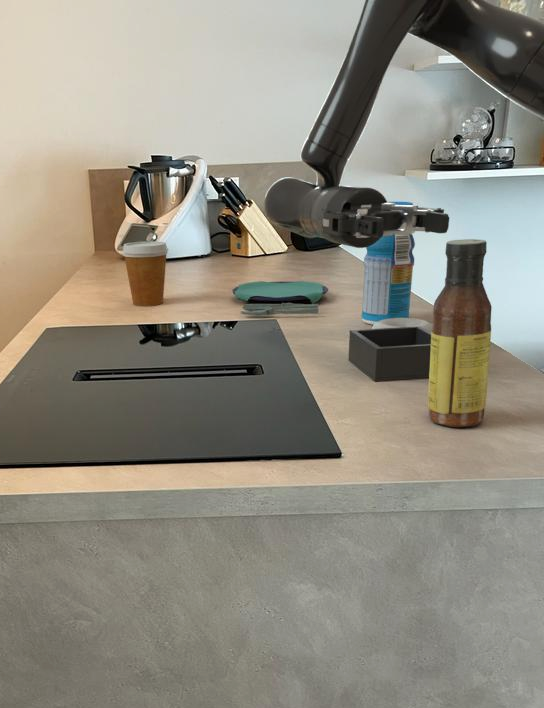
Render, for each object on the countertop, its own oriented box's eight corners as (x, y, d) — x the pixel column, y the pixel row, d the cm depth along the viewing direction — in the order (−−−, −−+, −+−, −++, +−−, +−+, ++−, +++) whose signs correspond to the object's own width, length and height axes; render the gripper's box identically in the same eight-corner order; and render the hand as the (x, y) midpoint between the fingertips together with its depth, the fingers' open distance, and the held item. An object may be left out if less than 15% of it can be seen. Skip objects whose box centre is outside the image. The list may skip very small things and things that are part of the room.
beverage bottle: (357, 325, 137) (364, 205, 129) (363, 316, 144) (370, 201, 137) (407, 327, 134) (417, 204, 127) (411, 317, 142) (420, 200, 134)
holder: (417, 356, 117) (419, 325, 115) (450, 376, 106) (453, 343, 105) (348, 360, 116) (349, 330, 114) (374, 381, 105) (376, 348, 104)
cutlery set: (327, 290, 171) (328, 279, 170) (328, 318, 144) (329, 305, 143) (236, 290, 174) (236, 280, 173) (221, 318, 147) (221, 306, 146)
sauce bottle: (488, 416, 91) (510, 237, 83) (476, 432, 86) (498, 245, 78) (431, 409, 94) (447, 236, 86) (416, 424, 89) (432, 243, 81)
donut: (371, 351, 121) (438, 350, 119) (372, 329, 120) (440, 328, 118) (368, 337, 130) (430, 335, 128) (368, 316, 129) (432, 314, 127)
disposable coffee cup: (152, 297, 170) (148, 240, 166) (180, 302, 164) (177, 242, 159) (116, 303, 165) (112, 244, 160) (143, 309, 158) (140, 247, 153)
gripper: (301, 188, 103) (361, 194, 88) (397, 184, 106) (470, 189, 92) (299, 247, 106) (357, 263, 91) (393, 241, 109) (463, 255, 95)
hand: (413, 226), depth 92 cm, fingers open, 8 cm apart
